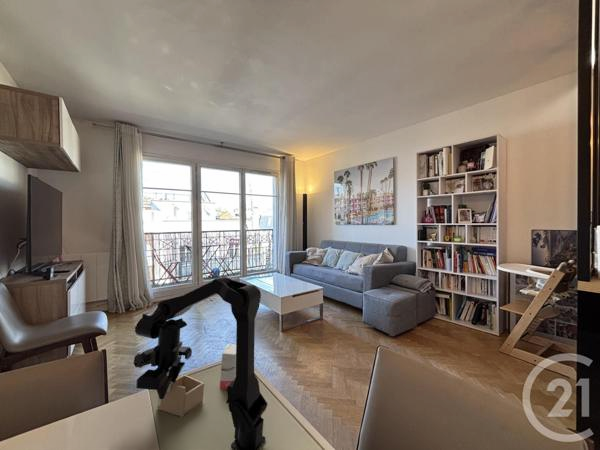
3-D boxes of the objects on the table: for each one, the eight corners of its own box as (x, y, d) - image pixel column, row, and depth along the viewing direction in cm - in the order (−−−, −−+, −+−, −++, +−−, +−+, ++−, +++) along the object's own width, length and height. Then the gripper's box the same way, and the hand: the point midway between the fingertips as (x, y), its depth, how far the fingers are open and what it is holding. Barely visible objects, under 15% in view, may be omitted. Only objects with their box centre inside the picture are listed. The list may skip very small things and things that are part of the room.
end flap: (184, 414, 73) (186, 386, 73) (180, 417, 71) (183, 389, 72) (160, 406, 75) (162, 379, 76) (156, 409, 74) (158, 381, 74)
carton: (202, 402, 78) (204, 383, 79) (184, 415, 72) (185, 394, 73) (183, 393, 82) (184, 374, 83) (164, 404, 76) (165, 384, 77)
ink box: (233, 389, 86) (235, 354, 87) (218, 388, 86) (221, 353, 87) (238, 375, 95) (240, 343, 96) (225, 375, 95) (227, 343, 95)
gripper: (161, 327, 83) (158, 374, 83) (118, 354, 65) (114, 415, 64) (193, 329, 83) (190, 377, 82) (160, 357, 64) (155, 419, 64)
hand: (165, 394), depth 73 cm, fingers open, 3 cm apart
